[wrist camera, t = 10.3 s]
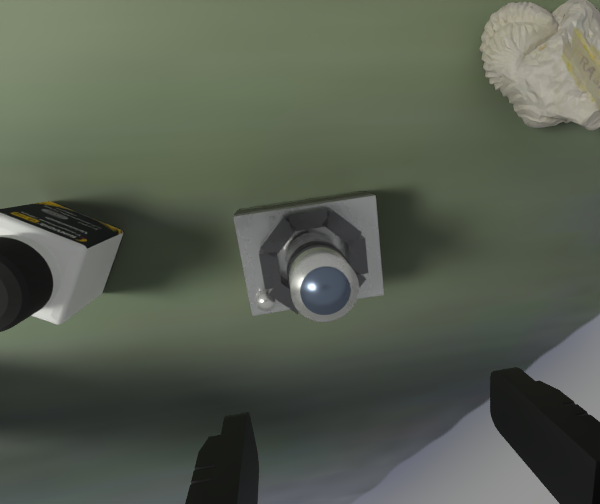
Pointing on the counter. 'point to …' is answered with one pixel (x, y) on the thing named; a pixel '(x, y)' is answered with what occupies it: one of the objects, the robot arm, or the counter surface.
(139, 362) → the counter surface
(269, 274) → the octagon ring plate
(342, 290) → the lens
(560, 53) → the fossil replica
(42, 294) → the medicine bottle
